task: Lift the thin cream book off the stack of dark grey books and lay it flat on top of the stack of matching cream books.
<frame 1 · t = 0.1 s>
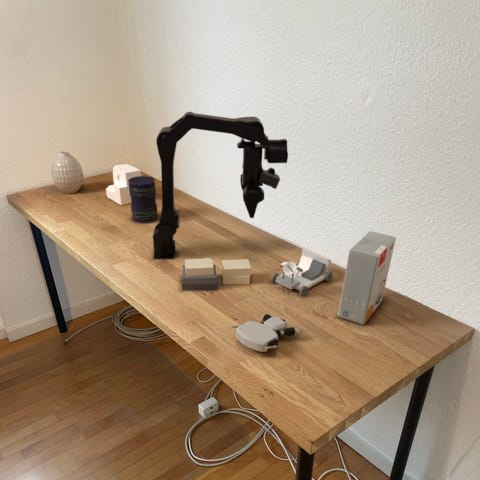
hand: (250, 212, 153), 15 cm above the table, tool pointing down, fingers open, 9 cm apart
cream book: (199, 271, 142), point 4 cm above the table, touching grey books
tape dispenser: (123, 197, 205), on the table
vase: (70, 191, 210), on the table
toy car: (298, 283, 145), on the table
grey books: (199, 283, 144), on the table
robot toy: (265, 340, 120), on the table
cream books: (235, 279, 146), on the table
storage jar: (145, 219, 186), on the table
hard drive box: (360, 309, 134), on the table
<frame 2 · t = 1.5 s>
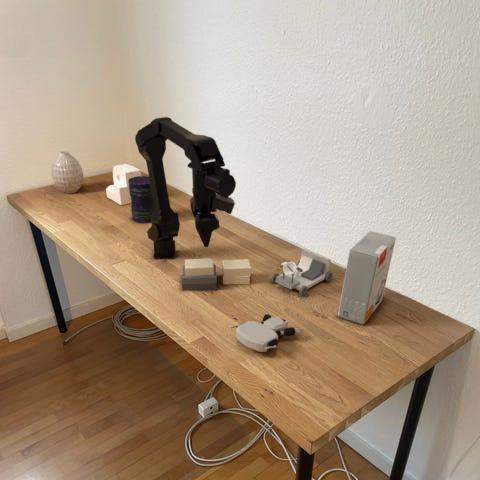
hand: (204, 240, 139), 13 cm above the table, tool pointing down, fingers open, 9 cm apart
nothing on the table moved.
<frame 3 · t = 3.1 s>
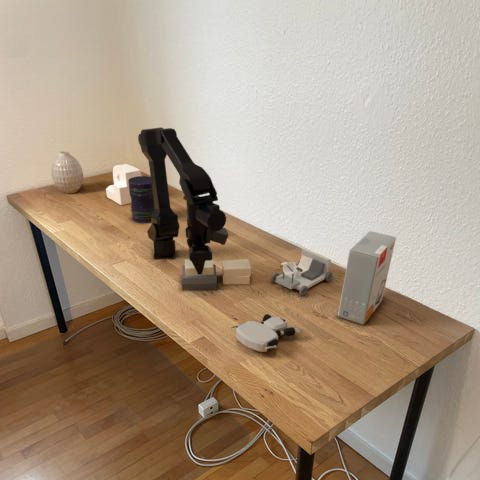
hand: (199, 269, 141), 5 cm above the table, tool pointing down, fingers closed on cream book, 6 cm apart
cream book: (199, 271, 142), point 4 cm above the table, touching grey books, gripper
everything else where it was.
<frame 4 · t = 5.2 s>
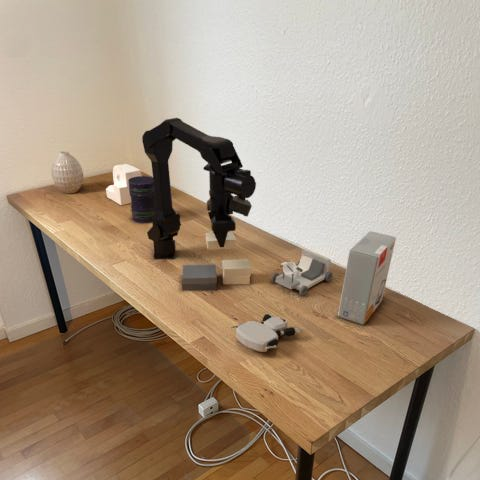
hand: (220, 242, 138), 13 cm above the table, tool pointing down, fingers closed on cream book, 6 cm apart
cream book: (220, 244, 138), point 12 cm above the table, touching gripper
everything else where it was.
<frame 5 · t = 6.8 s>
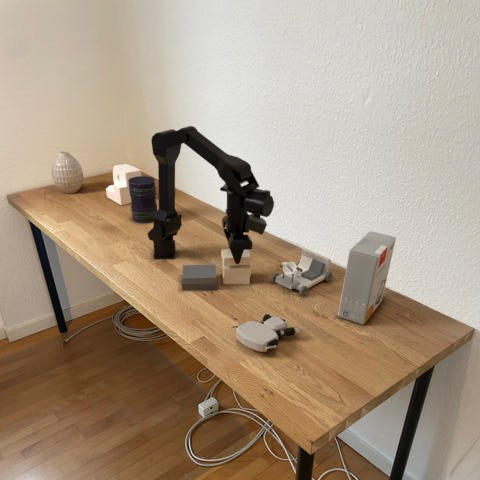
hand: (235, 258, 142), 7 cm above the table, tool pointing down, fingers closed on cream book, 6 cm apart
cream book: (235, 260, 143), point 6 cm above the table, touching gripper
everything else where it was.
when the fingers open (6 cm above the table, at t = 7.7 s): cream book stays where it is, resting on cream books.
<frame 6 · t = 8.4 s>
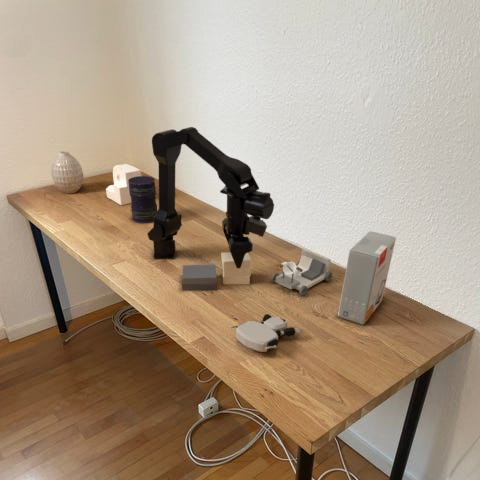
hand: (236, 261, 143), 6 cm above the table, tool pointing down, fingers open, 9 cm apart
cream book: (235, 264, 143), point 5 cm above the table, touching cream books
everything else where it was.
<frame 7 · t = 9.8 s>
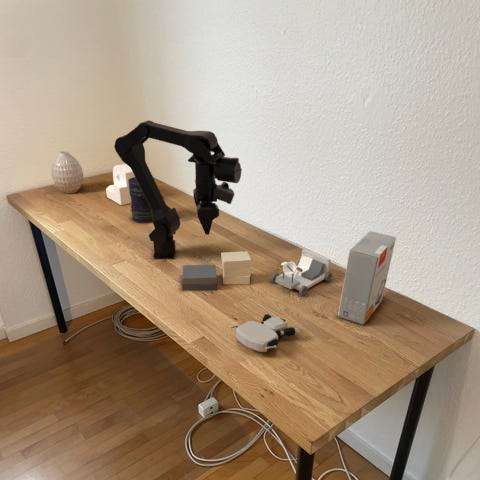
hand: (205, 228, 149), 12 cm above the table, tool pointing down, fingers open, 9 cm apart
nothing on the table moved.
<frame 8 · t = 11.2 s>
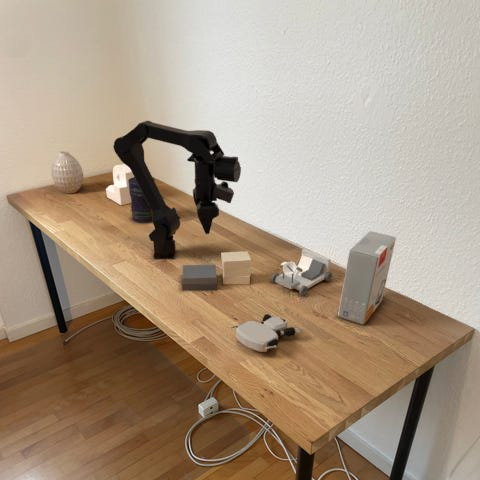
hand: (205, 227, 149), 12 cm above the table, tool pointing down, fingers open, 9 cm apart
nothing on the table moved.
at the end: cream book 0.1 cm off-centre on the cream books, point 5.2 cm above the cream books's base; cream book tilted 0°; the gripper is holding nothing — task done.
